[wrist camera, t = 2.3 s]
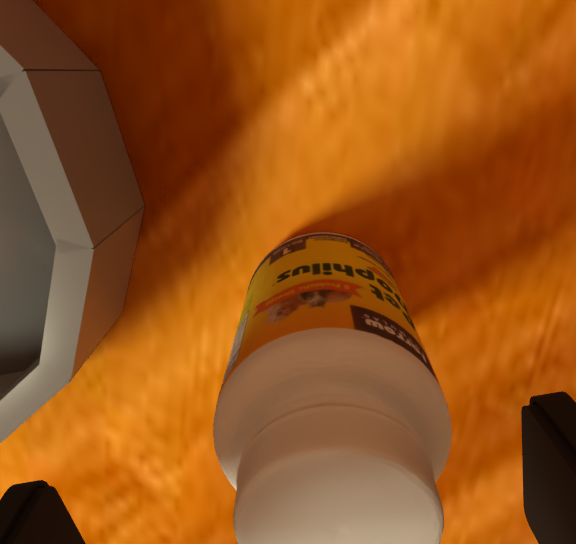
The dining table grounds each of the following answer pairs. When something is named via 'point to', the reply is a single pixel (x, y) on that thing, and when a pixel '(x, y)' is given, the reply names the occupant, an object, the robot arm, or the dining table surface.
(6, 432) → the bowl
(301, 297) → the supplement bottle
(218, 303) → the dining table surface
